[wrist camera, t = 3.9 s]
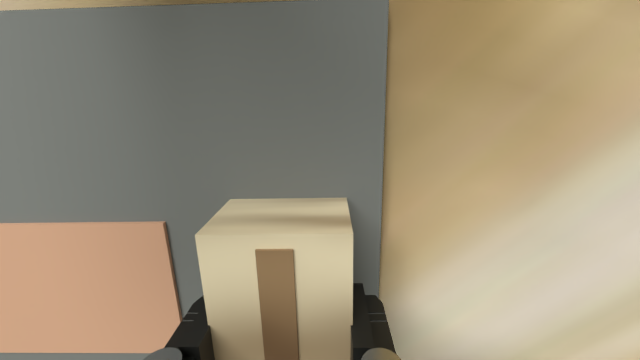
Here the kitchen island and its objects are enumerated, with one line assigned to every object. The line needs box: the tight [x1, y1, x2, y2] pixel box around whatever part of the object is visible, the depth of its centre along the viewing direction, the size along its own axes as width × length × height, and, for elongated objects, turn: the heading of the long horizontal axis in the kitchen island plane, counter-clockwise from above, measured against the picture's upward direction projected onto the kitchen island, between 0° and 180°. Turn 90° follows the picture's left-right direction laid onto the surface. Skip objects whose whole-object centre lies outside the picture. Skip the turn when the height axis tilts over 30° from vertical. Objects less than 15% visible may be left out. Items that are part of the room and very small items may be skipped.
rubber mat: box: [0, 0, 389, 360], centre depth 14 cm, size 24×22×1 cm
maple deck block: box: [195, 198, 353, 360], centre depth 12 cm, size 9×5×4 cm, turn 1°
